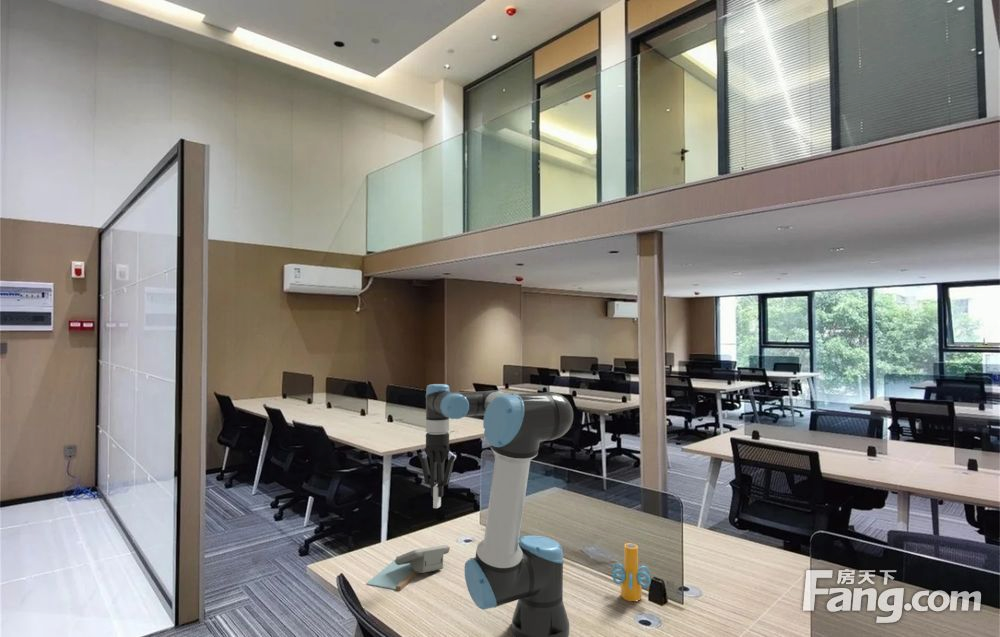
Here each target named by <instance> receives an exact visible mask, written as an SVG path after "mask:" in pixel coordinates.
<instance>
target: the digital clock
mask: <svg viewBox="0 0 1000 637" xmlns="http://www.w3.org/2000/svg"><path fill="white" fill-rule="evenodd" d="M450 550H451V548H450V546H449V545H447V544H445V545H438V546H436V545H435V546H431V547H430V546H429V547H423V548H418V549H414V550H412V551H411V550H410V551H408V552H406V553H403V554H401V555H399V556H396V557H395V559H394V560H395V563H396V564H397V565H402V564H408V563H410V564H411V565H412V567H413V570H414V571H417V572H419V573H420V574H421V573H422V574H423V573H428V572H433V571H439V570H443V568H444V555H446V554H448V553H449V552H450Z"/></svg>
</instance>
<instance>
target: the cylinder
mask: <svg viewBox="0 0 1000 637" xmlns="http://www.w3.org/2000/svg"><path fill="white" fill-rule="evenodd" d="M623 550H624V551H623V553H624V554H623V555H624V556H623V558H624V559H623V560H624V561H623V562H624V563H623V564H624V565H622V564H621V563H619V562H615V563H614V564H613V566H612V571H613V572H612V580H613V582H614V583H615V584H617V585H619V584H620V596H621V598H622V597H623V598H624V599H623V598H622V599H623V600H625V599H626V600H625V601H627V600H629V601H628V602H630V601H636V600H639V599H641V600H642V598H641V597H642V595H643V592H642V590H643V588H648V587H650V585H651V583H652V582H651V578H650V569H649V568H648V567H647V566H646V565H641V566H639V546H638V545H637V544H635V543H632V542H631V543H630V542H628V543H624V547H623ZM616 567H620V568H617V569H616ZM642 570H645V571H646V572H645V571H642ZM619 573H622V574H619ZM641 575H643V576H644V577H641ZM616 578H618V579H620V580H617V579H616ZM642 581H647V583H643V582H642ZM642 587H643V588H642Z"/></svg>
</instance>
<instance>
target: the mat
mask: <svg viewBox="0 0 1000 637" xmlns="http://www.w3.org/2000/svg"><path fill="white" fill-rule="evenodd" d="M419 573H420V572H417V571H414V570H413V567H412V565H411V564H410V563H408V564H402V565H397V564H396V563H395V559H394V560H392V561H391V562H390V563H389V564H388V565H386V566H385V567H384V568H383V569H382V570H381V571H379V572H378V573H377V574H376V575H375V576H373V577H372V578H371V579H369V581H367V582H366V585H367V584H368V586H374V587H378V588H383V587H384V589H389V590H393V591H402V590H403V589H404V588H405V587H406V586H407V585H408V584H409V583H410V582H411V581H412V580H414V578H415V577H417V575H418V574H419Z"/></svg>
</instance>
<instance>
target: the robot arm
mask: <svg viewBox="0 0 1000 637" xmlns="http://www.w3.org/2000/svg"><path fill="white" fill-rule="evenodd" d="M474 416H483V423H482V425H483V429H484V432H483V433H484V438H485V440H486V441H487V443H488V444H489V445H490V449H491V451H492V452H493V454H494V455H495V456H494V463H493V470H492V475H491V476H492V477H491V485H490V492H489V500H488V509H487V516H486V522H485V529H484V537H483V540H481V541H480V542H478V544H477V546H476V552H475V557H470V558H469V559H467V560H466V562H465V564H464V579H465V584H466V587H467V591H468V594H469V596H470V597H471V600H472V602H473V603H474V604H475V606H476V607H478V608H479V609H481V610H489V609H492V608H494V609H495V608H498V607H500V606H503V605H505V604H509V603H512V602H515V601H516V602H517V603H516V606H515V608H514V612H513V614H512V615H513V616H512V618H511V631H512V634H513V636H514V637H569V636H570V621H569V617H568V613H567V611H566V607H565V604H564V600H563V599H564V598H563V597H564V595H563V594H564V593H563V592H564V591H563V590H564V588H563V587H564V586H563V584H564V579H563V578H564V575H563V573H564V557H563V556H564V554H563V547H562V546H561V545H560V543H559V542H558V541H557V540H554V539H553V538H552V539H551V538H550V537H546V536H541V535H530V534H529V535H524V536H521V538H520V534H521V529H522V528H521V526H522V521H523V520H522V519H523V514H524V506H525V501H526V494H527V489H528V488H527V487H528V480H529V473H530V465H531V461H532V459H534V458H536V457H537V456H538V455H539V450H540V442H545V441H546V442H547V441H554V440H557V439H559V438H561V437H563V436H565V434H566V433H568V431H569V430H570V429H571V427H572V424H573V421H574V410H573V407H572V405H571V403H570V401H569V400H568V399H567V398H566V397H565V396H563V395H562V394H559V393H556V392H552V391H551V392H549V391H548V392H545V391H544V392H533V393H532V392H531V393H507V392H503V391H501V390H495V389H494V390H493V389H492V390H491V389H490V390H485V391H484V390H483V391H463V392H462V391H461V392H460V391H459V392H458V391H457V392H451V391H450V386H449V385H448V384H446V383H433V384H428V385H427V386H426V394H425V417H426V418H425V432H426V434H425V447H424V450H423V451H422V452H419V453H418V454H417V457H418V459H419V461H420V464H421V469H422V470H421V471H422V473H423V478H424V484H426V485H429V486H430V495H431V497H432V499H433V500H432V502H433V503H432V504H433V505H432V508H433V509H438V508H440V507H441V506H442V497H443V496H444V486H447V485H448V484H450V482H451V481H450V480H451V476H452V472H453V468H454V463H455V460H456V459H457V457H458V456H457V454H454V453H453V452H452V451H451V448H450V433H449V431H450V420H454V419H455V420H458V419H462V418H464V417H465V418H466V417H474ZM428 459H429V462H428ZM446 459H448V461H447V465H446V467H445V464H446V462H445V461H446ZM445 468H446V469H445Z"/></svg>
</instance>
